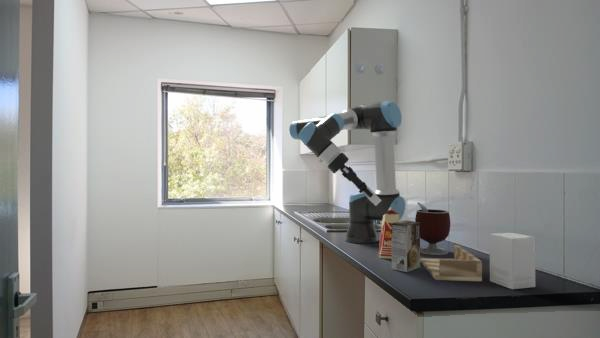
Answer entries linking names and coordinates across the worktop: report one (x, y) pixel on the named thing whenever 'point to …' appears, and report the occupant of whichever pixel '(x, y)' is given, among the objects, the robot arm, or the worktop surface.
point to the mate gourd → (433, 228)
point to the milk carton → (387, 234)
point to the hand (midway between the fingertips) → (376, 201)
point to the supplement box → (512, 260)
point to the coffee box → (405, 245)
